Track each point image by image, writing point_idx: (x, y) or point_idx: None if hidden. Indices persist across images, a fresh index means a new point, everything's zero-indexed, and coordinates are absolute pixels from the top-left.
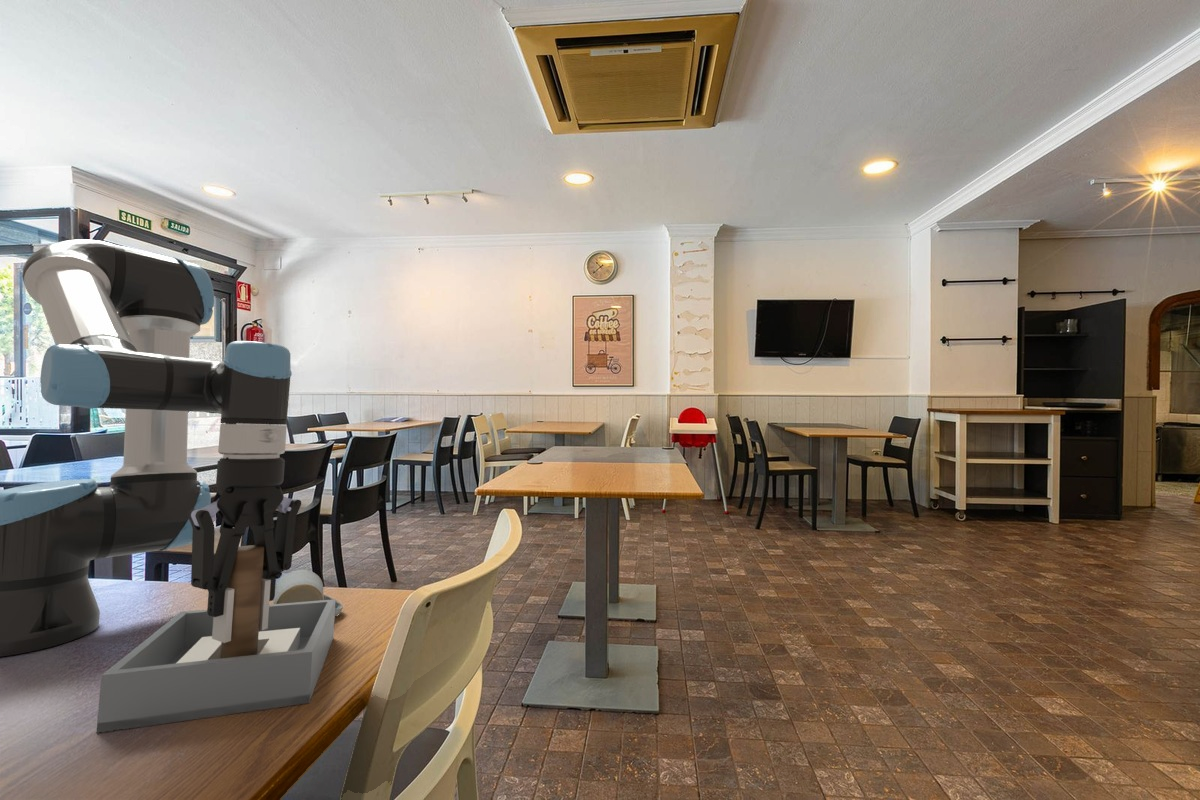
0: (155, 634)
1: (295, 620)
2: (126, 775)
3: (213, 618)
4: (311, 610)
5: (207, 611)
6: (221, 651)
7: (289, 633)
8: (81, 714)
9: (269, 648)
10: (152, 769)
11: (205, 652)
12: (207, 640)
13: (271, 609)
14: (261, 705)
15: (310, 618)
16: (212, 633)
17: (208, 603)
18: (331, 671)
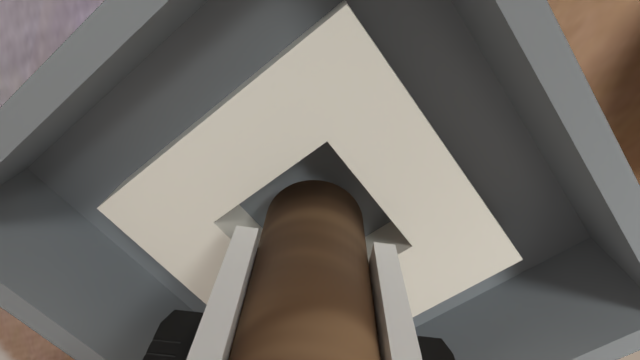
0: (119, 7)
1: (585, 200)
2: (14, 323)
3: (218, 274)
4: (627, 258)
5: (159, 326)
6: (265, 221)
7: (467, 266)
8: (6, 16)
9: None
10: (44, 340)
11: (252, 163)
12: (329, 63)
13: (577, 155)
14: None
15: (607, 237)
16: (232, 236)
17: (146, 358)
18: None
